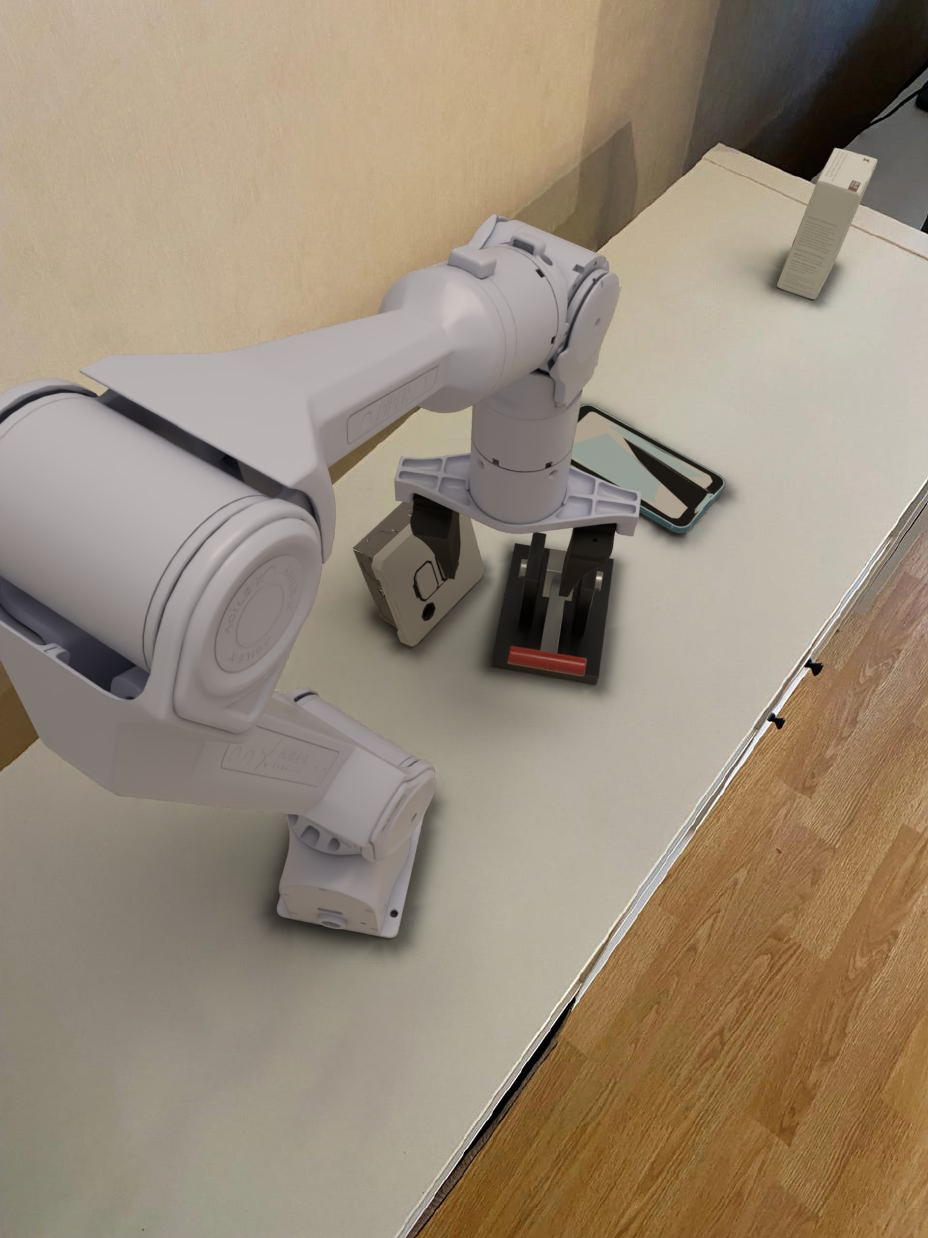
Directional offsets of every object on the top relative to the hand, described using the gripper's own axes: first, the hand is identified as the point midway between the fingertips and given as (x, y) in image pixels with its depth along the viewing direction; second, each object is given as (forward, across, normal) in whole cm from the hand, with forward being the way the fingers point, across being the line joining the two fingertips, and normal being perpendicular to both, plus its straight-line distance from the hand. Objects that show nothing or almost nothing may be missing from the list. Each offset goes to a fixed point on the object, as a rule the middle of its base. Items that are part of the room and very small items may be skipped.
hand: (508, 575), depth 65 cm
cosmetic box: (+10, -24, -49) cm, 55 cm away
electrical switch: (+10, +7, -4) cm, 13 cm away
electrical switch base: (+10, -4, -4) cm, 12 cm away
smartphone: (+10, -8, -20) cm, 24 cm away
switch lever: (+4, -3, +1) cm, 6 cm away
